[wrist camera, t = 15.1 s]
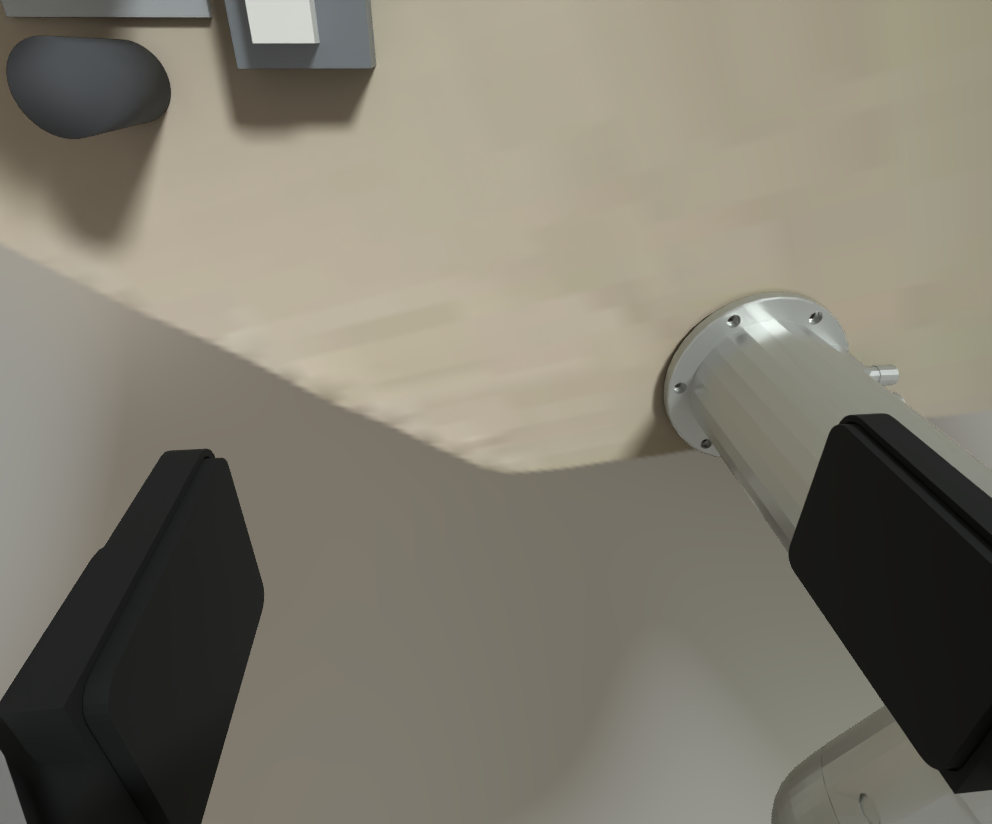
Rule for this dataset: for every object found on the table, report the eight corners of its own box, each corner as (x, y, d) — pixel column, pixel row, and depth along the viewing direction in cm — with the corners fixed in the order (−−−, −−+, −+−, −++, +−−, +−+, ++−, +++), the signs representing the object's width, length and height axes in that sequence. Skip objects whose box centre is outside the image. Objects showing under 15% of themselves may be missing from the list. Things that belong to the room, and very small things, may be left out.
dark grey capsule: (147, 31, 29) (76, 24, 23) (184, 112, 31) (126, 126, 25) (75, 49, 29) (-15, 48, 23) (115, 130, 31) (42, 148, 25)
